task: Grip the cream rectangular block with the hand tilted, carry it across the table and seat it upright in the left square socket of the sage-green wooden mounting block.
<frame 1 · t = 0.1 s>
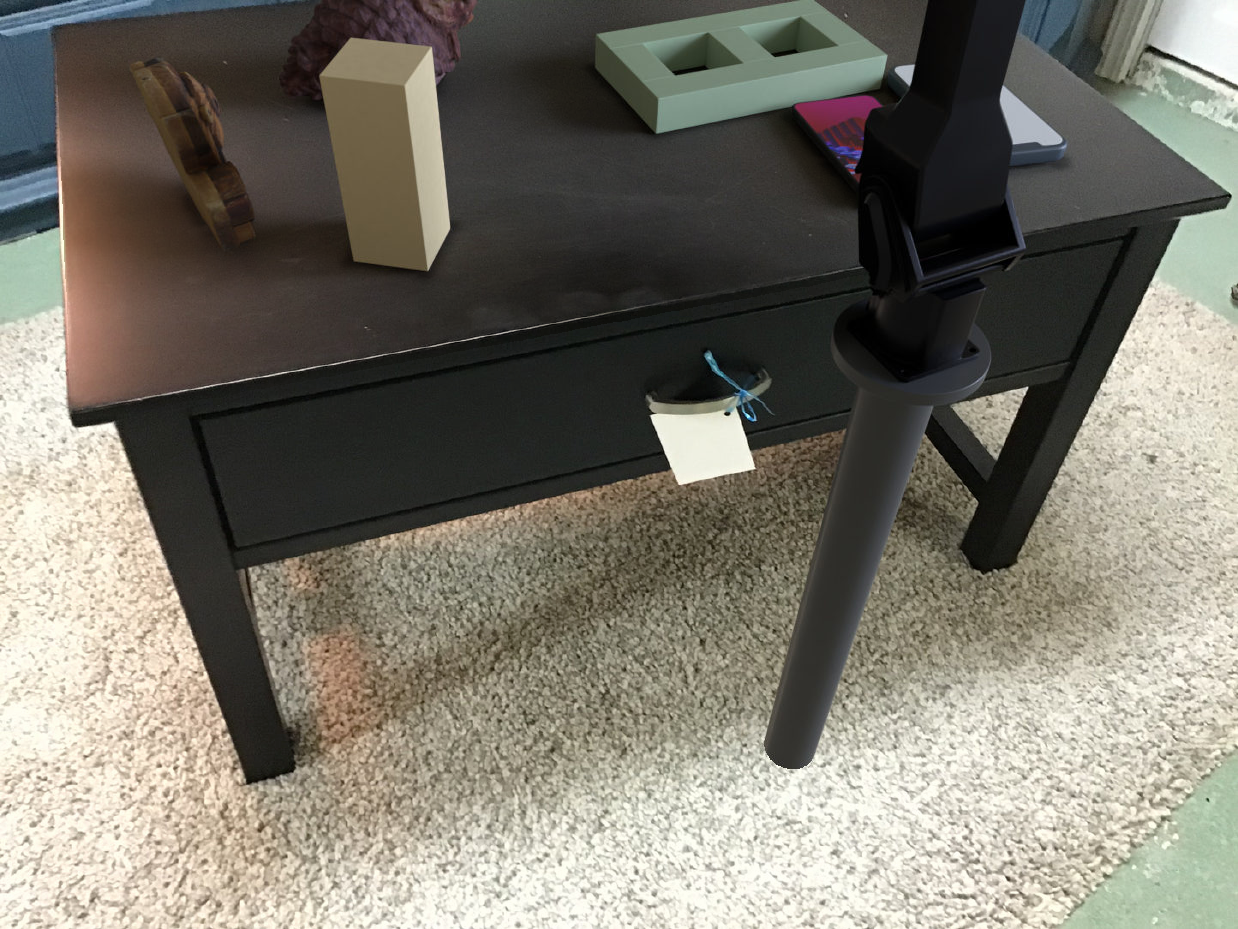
cream rectangular block: (403, 244, 71), on the table
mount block: (736, 78, 90), on the table
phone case: (968, 122, 86), on the table
pine cone: (387, 90, 87), on the table
smartphone: (868, 153, 82), on the table
wooden carving: (215, 211, 74), on the table
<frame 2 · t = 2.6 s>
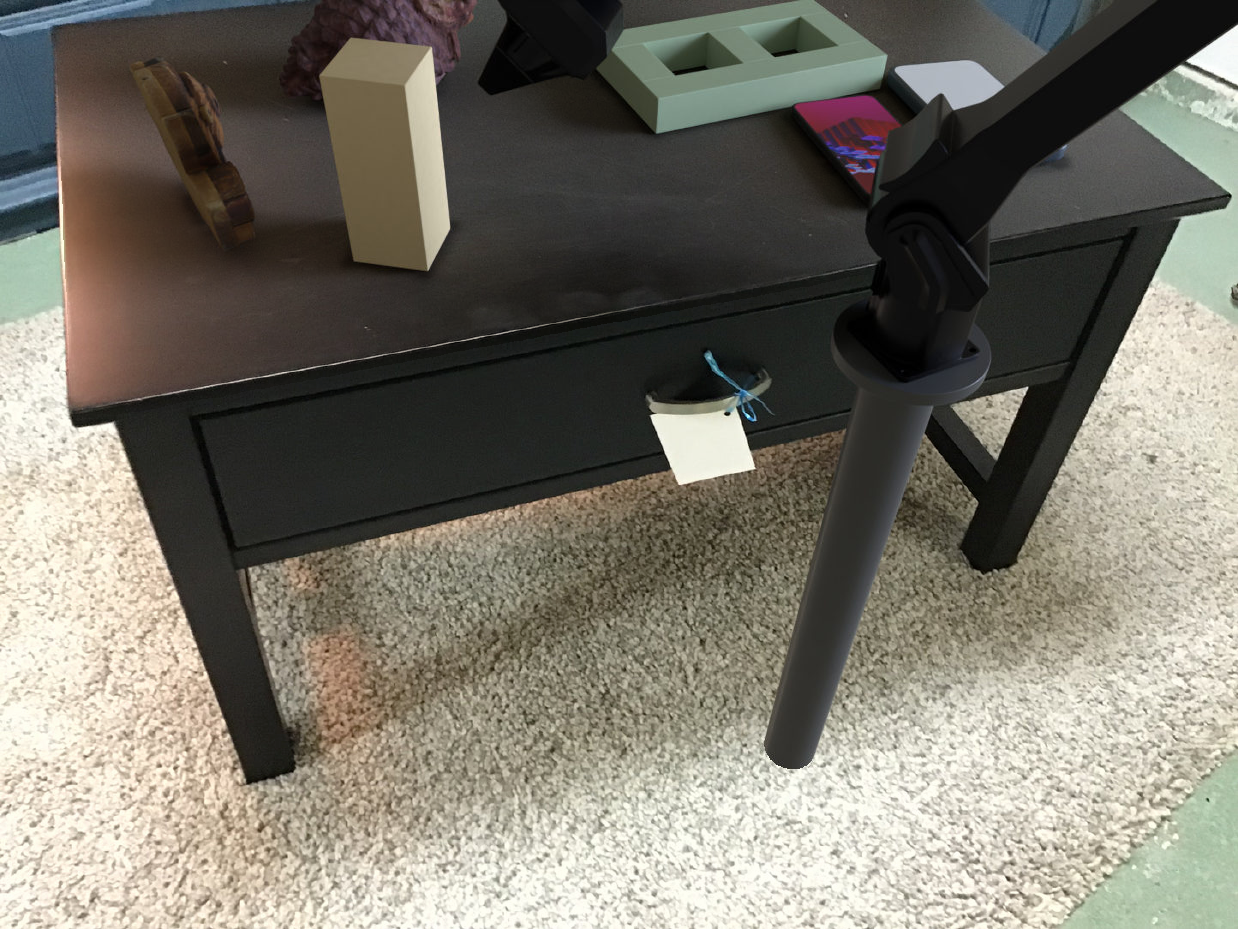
hand: (510, 53, 62), 13 cm above the table, tool tilted 40°, fingers open, 9 cm apart
nothing on the table moved.
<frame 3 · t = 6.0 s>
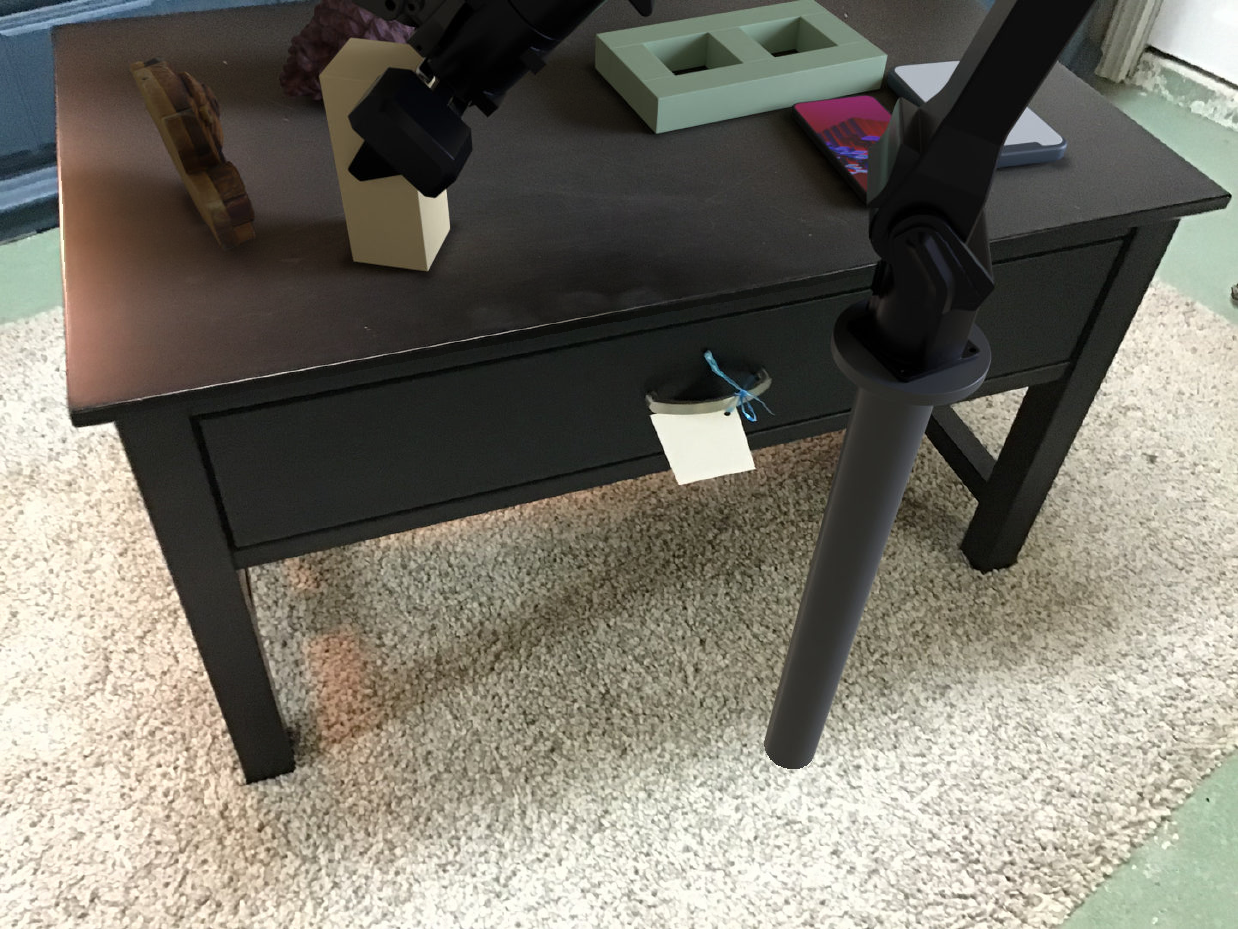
hand: (369, 152, 67), 7 cm above the table, tool tilted 45°, fingers closed on cream rectangular block, 5 cm apart
cream rectangular block: (402, 244, 71), on the table, touching gripper
everything else where it was.
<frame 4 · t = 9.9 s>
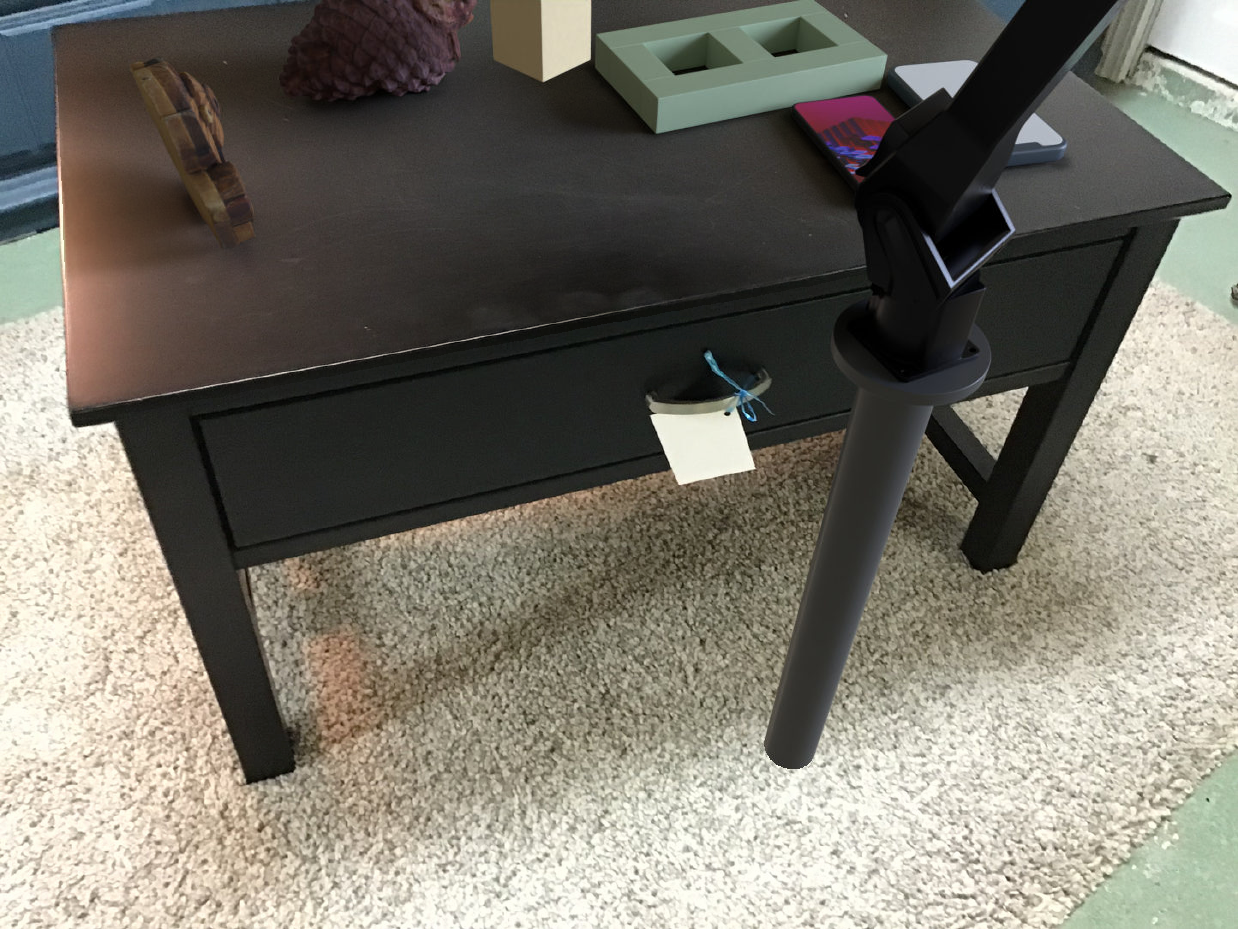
cream rectangular block: (542, 59, 79), point 6 cm above the table, touching gripper
everything else where it was.
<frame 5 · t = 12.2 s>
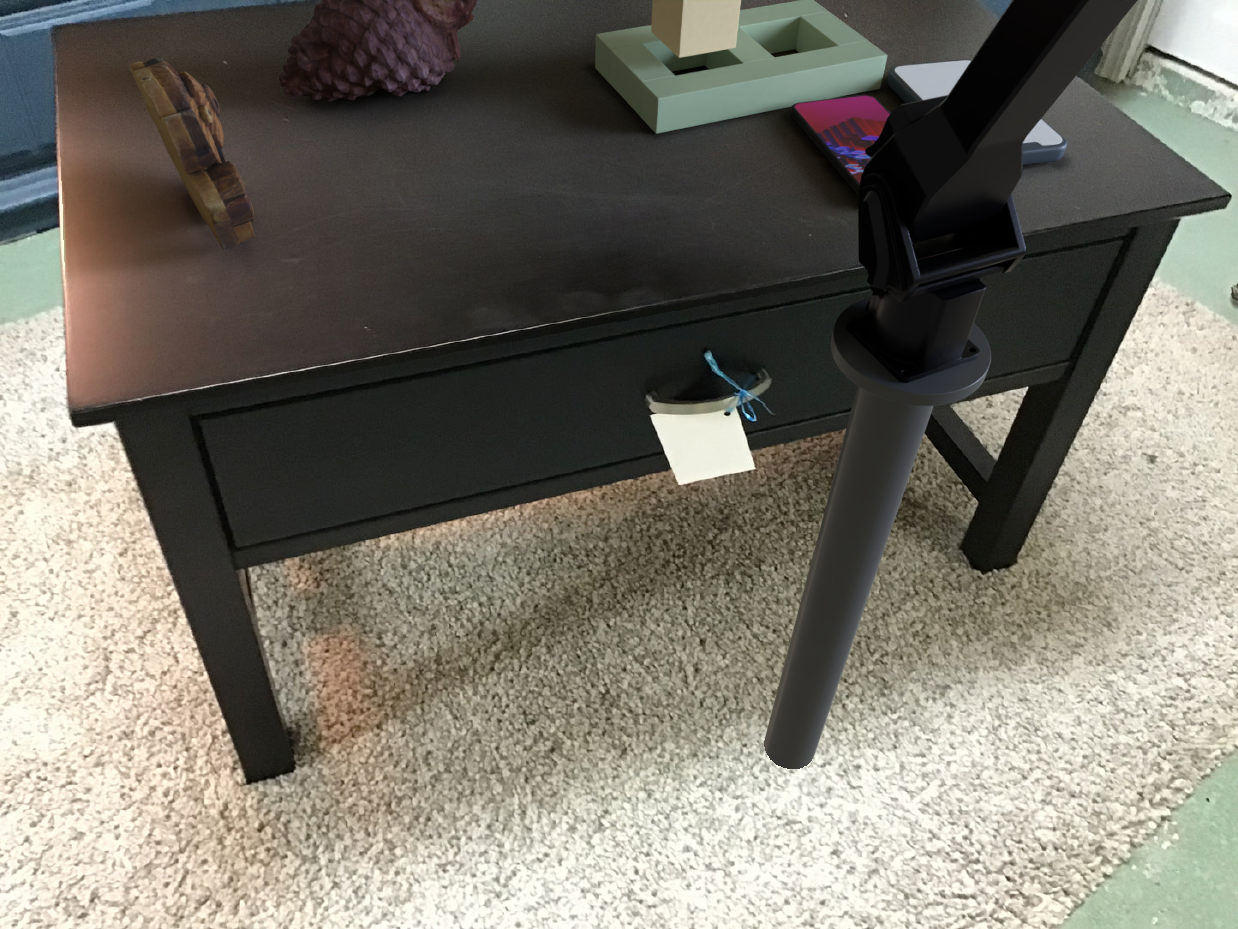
cream rectangular block: (692, 39, 85), point 4 cm above the table, touching gripper
everything else where it was.
when the fingers open (7 cm above the table, at t = 13.8 s): cream rectangular block stays where it is, resting in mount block.
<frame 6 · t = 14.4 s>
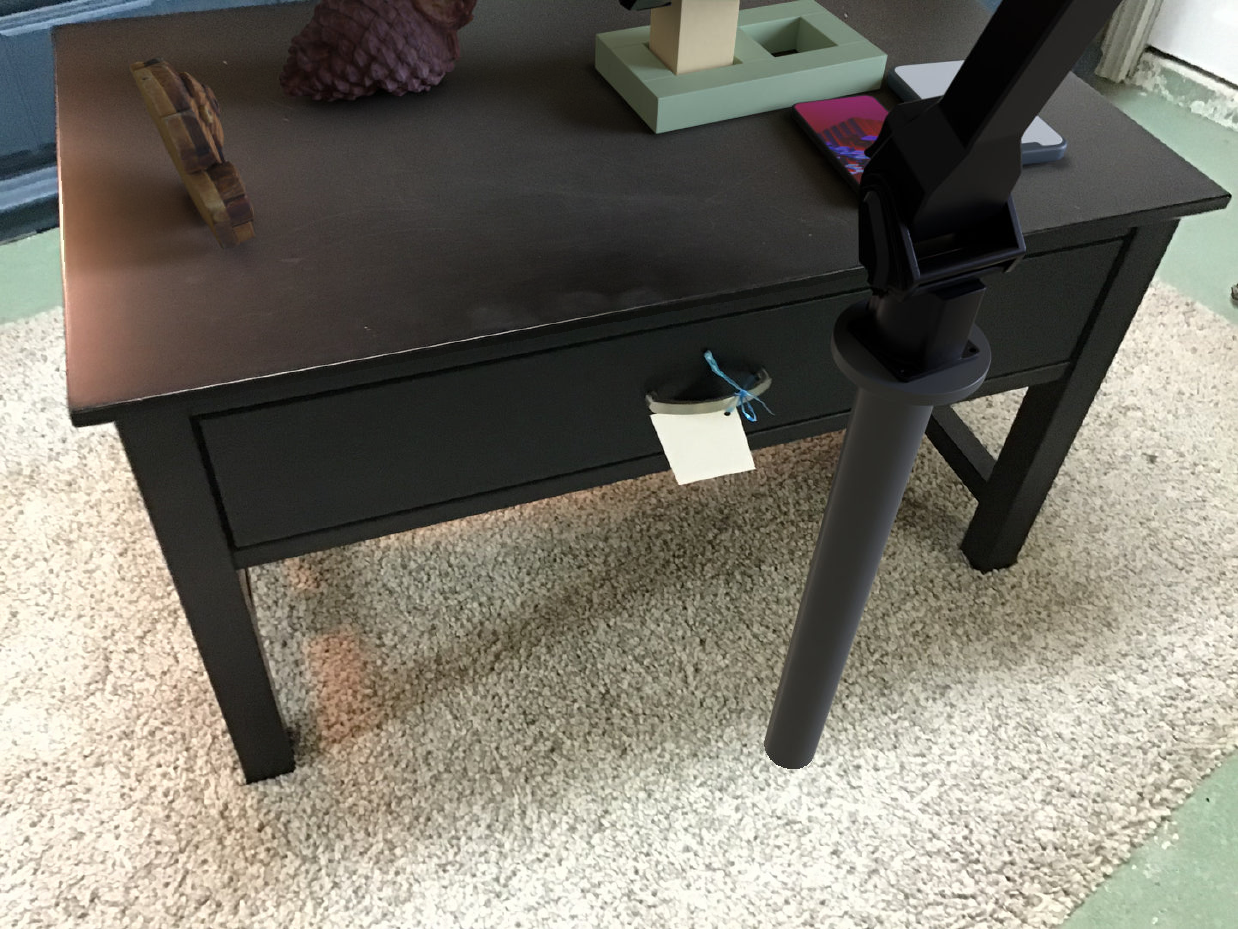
cream rectangular block: (687, 86, 88), resting in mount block
everything else where it was.
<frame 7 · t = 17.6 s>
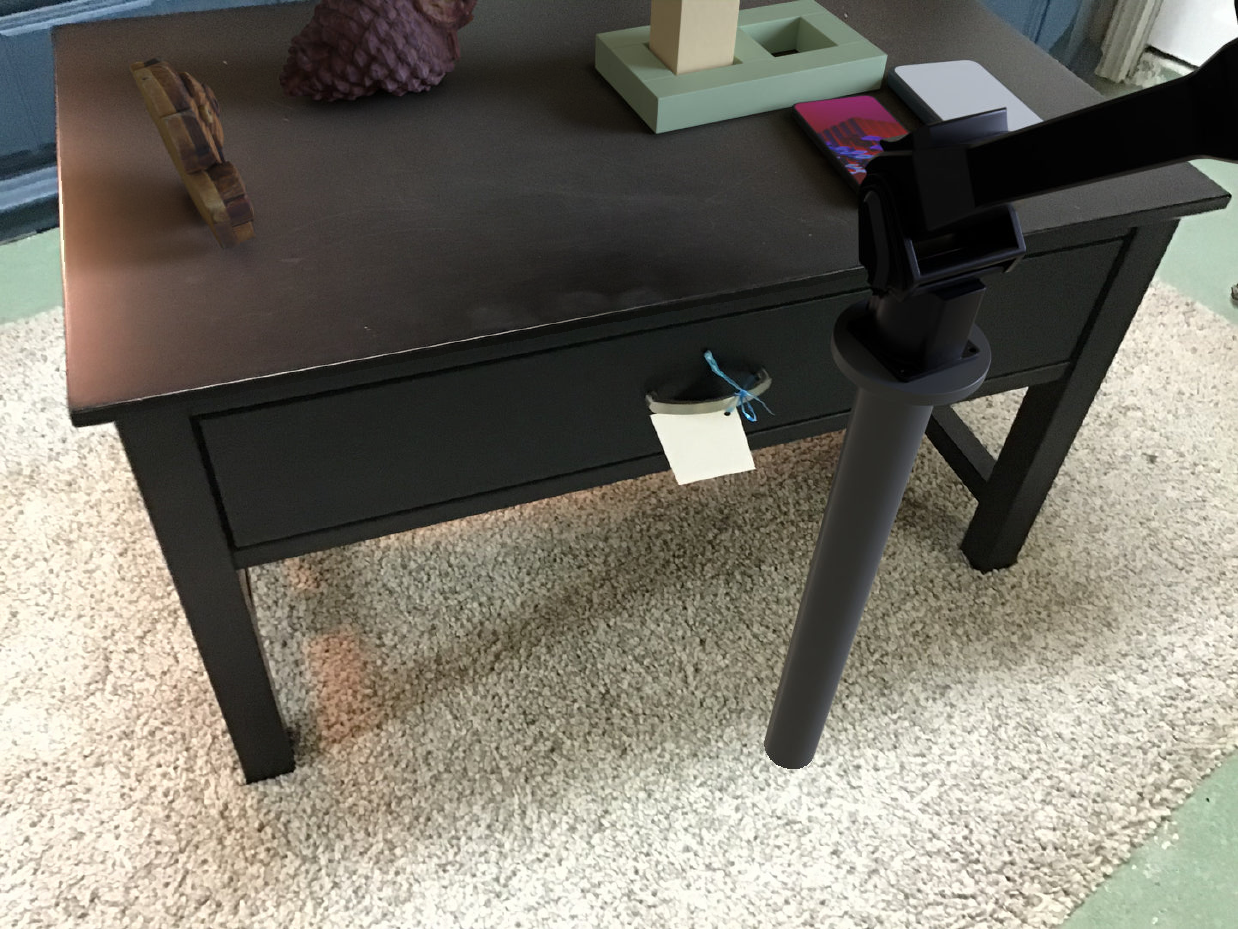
nothing on the table moved.
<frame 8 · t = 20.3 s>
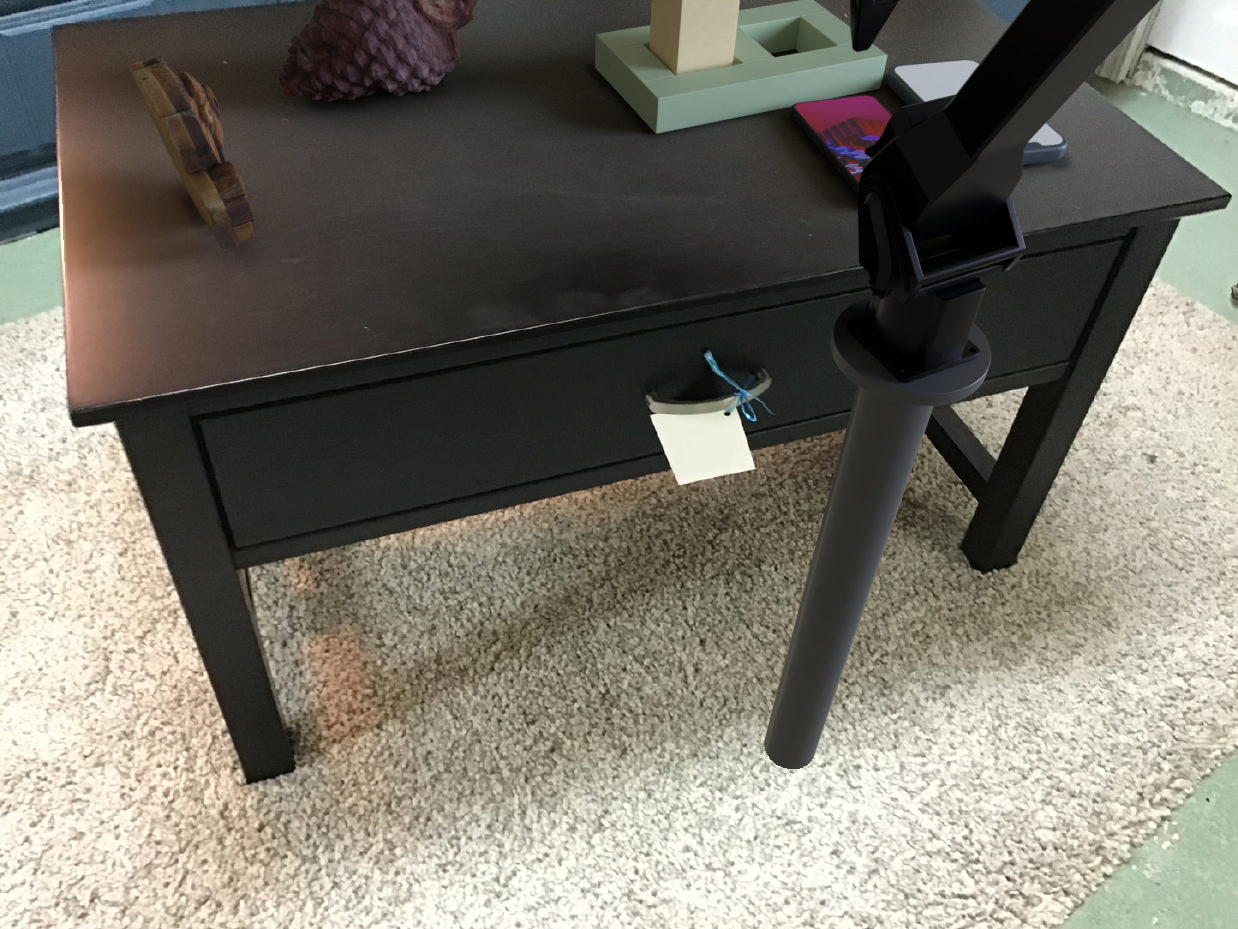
hand: (819, 19, 68), 13 cm above the table, tool pointing down, fingers open, 9 cm apart
nothing on the table moved.
at the end: cream rectangular block 0.2 cm from the target spot in the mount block, point 0.0 cm above the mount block's base; cream rectangular block tilted 0°; the gripper is holding nothing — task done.
